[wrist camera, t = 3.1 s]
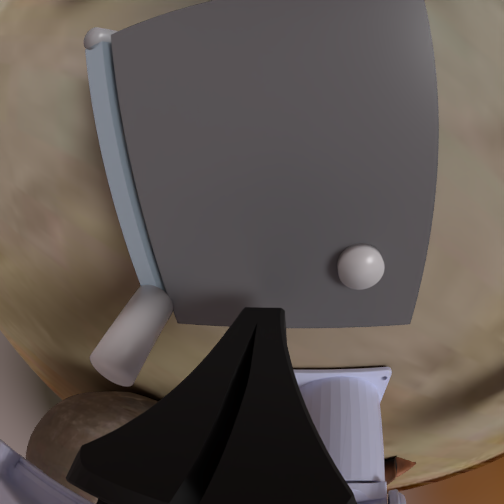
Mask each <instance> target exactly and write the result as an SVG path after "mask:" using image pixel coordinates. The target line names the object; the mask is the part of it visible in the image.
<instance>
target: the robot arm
mask: <svg viewBox="0 0 504 504" xmlns="http://www.w3.org/2000/svg"><path fill="white" fill-rule="evenodd" d="M391 374H392V371H391V368H390V367H376V368H358V369H327V370H295V369H293V367H292V364H291V360H290V356H289V351H288V347H287V338H286V321H285V310H284V309H282V308H260V307H245V308H244V309H242V311H241V312H240V314H239V315H238V317H237V318H236V319H235V321H234V322H233V324H232V325H231V326H230V328H229V329H228V330H227V332H226V333H225V334H224V336H223V337H222V338H221V339H220V341H219V342H218V343H217V344H216V346H215V347H214V348H213V349H212V350H211V352H210V353H209V354H208V355H207V356H206V357H205V358H204V359H203V361H202V362H201V363H200V364H199V365H198V366H197V367H196V368H195V369H194V370H193V371H192V372H191V373H190V374H189V375H188V376H187V377H186V378H185V379H184V380H183V381H182V382H181V383H180V384H179V385H178V386H177V387H175V388H174V389H173V390H172V391H171V392H170V393H169V394H167V395H166V396H165V397H163V398H162V399H161V400H160V401H158V402H157V403H156V404H155V405H153V406H152V407H150V408H149V409H148V410H146V411H145V412H143V413H142V414H140V415H139V416H137V417H136V418H134V419H132V420H131V421H129V422H128V423H126V424H124V425H123V426H121V427H119V428H117V429H116V430H114V431H112V432H110V433H108V434H106V435H104V436H102V437H99V438H97V439H95V440H93V441H91V442H89V443H86V444H84V445H82V446H81V448H80V450H79V451H78V453H77V455H76V457H75V459H74V461H73V463H72V465H71V468H70V470H69V472H68V474H67V476H66V480H67V482H69V483H70V484H72V485H74V486H76V487H77V488H79V489H81V490H83V491H84V492H86V493H88V494H90V495H92V496H94V497H96V498H98V501H97V503H96V504H387V482H386V481H385V469H384V448H383V434H382V422H381V411H380V402H381V399H382V397H383V394H384V392H385V389H386V387H387V384H388V382H389V379H390V376H391ZM0 504H95V503H93V502H91V501H89V500H87V499H85V498H83V497H82V496H80V495H78V494H76V493H75V492H73V491H71V490H70V489H68V488H66V487H65V486H63V485H61V484H60V483H58V482H57V481H55V480H54V479H52V478H51V477H49V476H48V475H46V474H45V473H43V471H42V470H40V469H39V468H37V467H36V466H35V465H33V464H32V463H31V462H29V461H28V460H27V459H25V458H24V457H22V456H21V455H20V454H18V453H17V452H15V451H14V450H13V449H12V448H10V447H9V446H8V445H7V444H6V443H5V442H3V441H2V440H1V439H0ZM388 504H406V500H405V496H404V495H403V494H401V493H400V492H398V490H396V489H395V490H390V491H389V497H388Z"/></svg>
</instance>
